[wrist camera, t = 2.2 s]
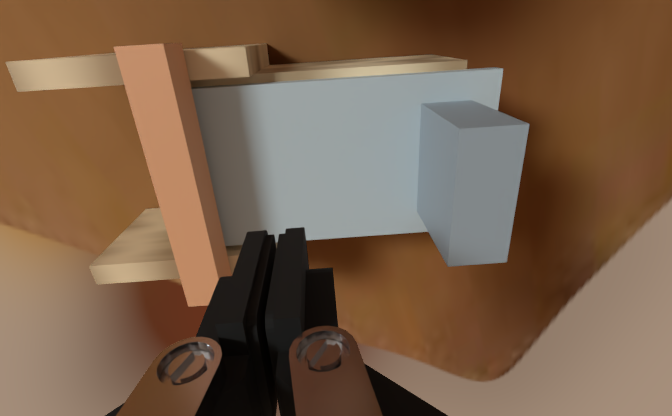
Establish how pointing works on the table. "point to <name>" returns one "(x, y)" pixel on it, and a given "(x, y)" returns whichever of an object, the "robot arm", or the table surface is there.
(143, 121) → the rectangular bar
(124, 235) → the toolbox
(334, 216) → the lid
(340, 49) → the table surface
